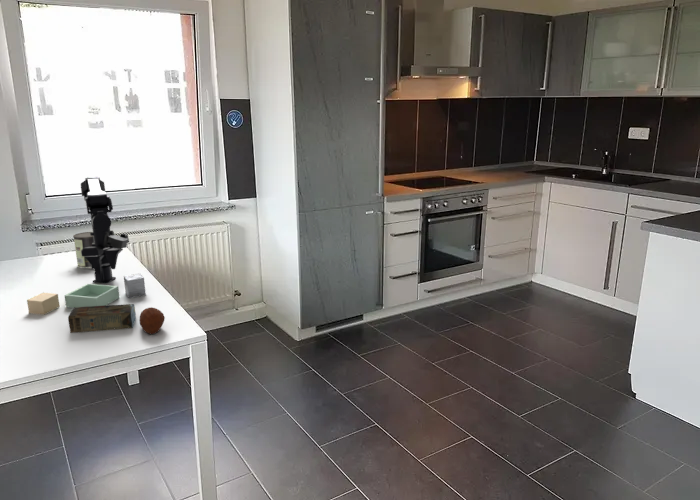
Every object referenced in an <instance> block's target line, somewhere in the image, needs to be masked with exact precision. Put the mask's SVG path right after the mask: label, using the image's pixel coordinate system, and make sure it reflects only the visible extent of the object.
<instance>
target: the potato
mask: <svg viewBox="0 0 700 500" xmlns="http://www.w3.org/2000/svg"><path fill="white" fill-rule="evenodd" d="M165 319H166V317H165V316H164V313H163V312H162V311H161V310H160V309H158V308H156V307H147V308H145V309H143V310H142V311H141V312H140V315H139V325H140V327H141V329H142V330H143V331H144V332H145V333H147V334H149V335H155V334H156V333H158V332H159V331H160V330H161V328H162V327H163V324H164V322H165Z"/></svg>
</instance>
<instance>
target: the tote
mask: <svg viewBox="0 0 700 500" xmlns="http://www.w3.org/2000/svg"><path fill="white" fill-rule="evenodd" d="M119 298H120V291H119V285H108V284H107V285H106V284H96V283H95V284H94V283H87V284H85V285H82V286H81V287H78V288H77V289H75V290H72V291H71V292H68V293H67V294H66V293H65V295H64V301H65V307H66V308H71V309H74V307H88V306H105V305H110V304H111V303H112V302H114V301H116V300H118V299H119Z"/></svg>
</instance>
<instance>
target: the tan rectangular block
mask: <svg viewBox="0 0 700 500" xmlns="http://www.w3.org/2000/svg"><path fill="white" fill-rule="evenodd" d="M26 303H27V309H28V314H33V315H46V314H48V313H50V312H53V311H54V310H57V309H58V308H60V299H59V294H58V293H53V292H41V293H39V294H37V295H34V296H33V297H31V298H28V299H27V300H26Z"/></svg>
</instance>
